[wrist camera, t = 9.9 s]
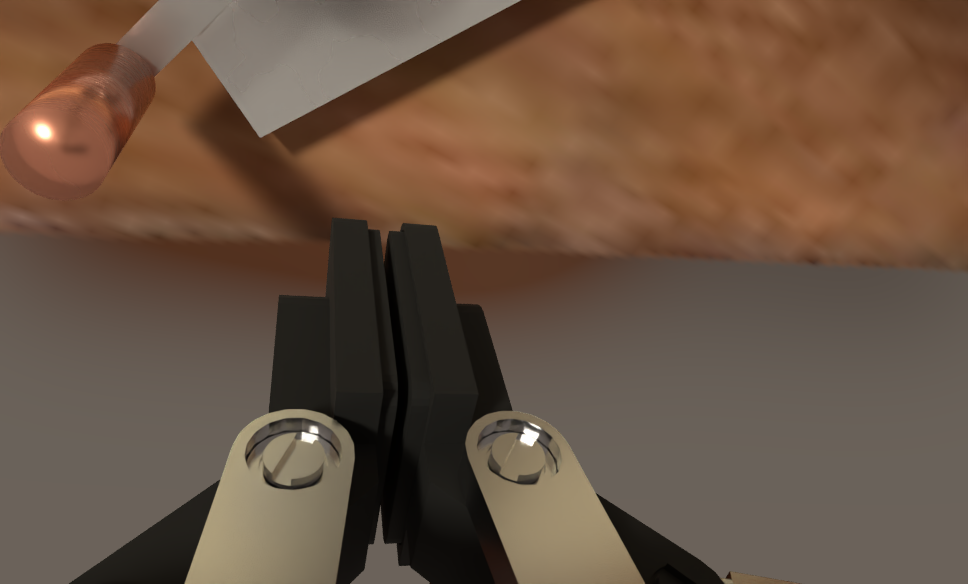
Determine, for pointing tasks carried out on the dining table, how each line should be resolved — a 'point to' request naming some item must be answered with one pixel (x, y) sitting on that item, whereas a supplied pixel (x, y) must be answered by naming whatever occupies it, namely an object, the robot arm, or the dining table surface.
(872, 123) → the dining table surface
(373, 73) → the stand
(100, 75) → the crank
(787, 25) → the dining table surface
